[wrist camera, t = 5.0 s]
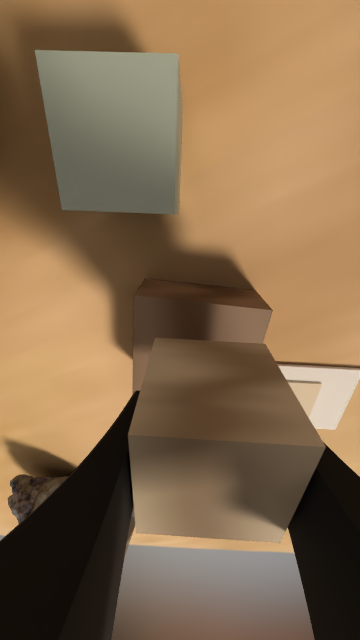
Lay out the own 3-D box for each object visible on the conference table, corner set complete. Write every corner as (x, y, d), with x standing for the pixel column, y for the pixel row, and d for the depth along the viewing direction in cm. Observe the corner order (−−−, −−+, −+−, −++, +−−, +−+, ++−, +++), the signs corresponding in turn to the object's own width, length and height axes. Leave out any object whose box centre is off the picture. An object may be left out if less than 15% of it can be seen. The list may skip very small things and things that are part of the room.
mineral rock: (20, 458, 26) (-71, 589, 17) (103, 441, 24) (51, 579, 15) (76, 515, 31) (28, 641, 22) (147, 506, 29) (128, 638, 20)
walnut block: (254, 289, 16) (272, 310, 13) (232, 375, 20) (242, 411, 16) (146, 277, 16) (133, 295, 13) (142, 366, 20) (132, 399, 16)
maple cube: (265, 343, 10) (325, 446, 6) (246, 422, 12) (280, 543, 8) (155, 337, 10) (127, 434, 6) (155, 416, 12) (135, 533, 8)
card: (360, 368, 19) (365, 371, 18) (333, 427, 22) (336, 431, 21) (240, 361, 19) (241, 365, 18) (229, 420, 22) (230, 425, 21)
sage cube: (182, 112, 12) (178, 53, 8) (179, 214, 14) (174, 214, 10) (91, 110, 12) (34, 49, 8) (101, 211, 14) (61, 210, 10)
